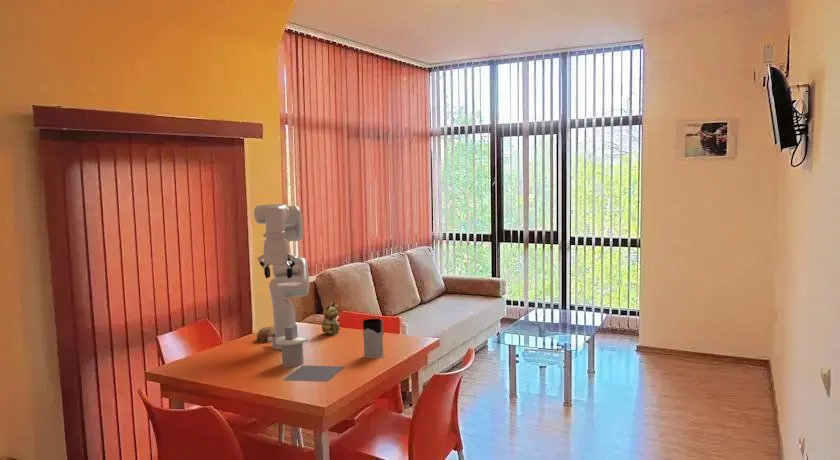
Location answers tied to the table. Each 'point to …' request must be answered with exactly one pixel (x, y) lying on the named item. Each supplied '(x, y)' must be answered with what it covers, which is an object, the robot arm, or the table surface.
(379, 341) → the glass holder
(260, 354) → the table surface
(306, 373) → the mat
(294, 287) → the robot arm
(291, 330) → the lid
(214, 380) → the table surface
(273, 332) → the bread roll
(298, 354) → the cup
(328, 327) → the decorative figurine
